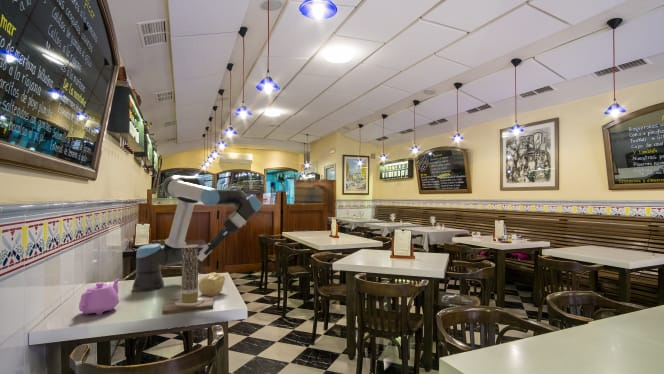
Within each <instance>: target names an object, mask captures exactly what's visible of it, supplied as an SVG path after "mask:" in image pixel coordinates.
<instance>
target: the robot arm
mask: <svg viewBox="0 0 664 374" xmlns="http://www.w3.org/2000/svg"><path fill="white" fill-rule="evenodd" d="M162 191H163V192H164V194H165V195H167V196H168V197H172V198H176V199H177V201H178V202H177V206H176V208H175V213H174V217H173V221H172V224H171V227H170V232H169V236H168V238H166V239H165V240H164V243H163V245H161V243H149V244H145V245H142V246H140V247H138V248H137V250H136V254H135V255H136V256H135V258H136V259H135V260H136V262H135V263H136V273H135V277H134V280H133V284H132V291H133V292H139V293H140V292H142V293H143V292H152V291H157V290H161V289H163V288H164V287H165V282H164V279H163V276H162V272H161V270H162V269H161V268H162V267H167V266H172V265H178V264H182V246H183V245H187V242H186V241H185V240H186V237H187V233H188V229H189V225H190V222H191V218H192V215H193V212H194V207H195V205H196V204H198V203H199V202H200V203H202V204H203V205H205V206H209V207H210V206H211V207H213V206H234V207H236V209H235V210H234V211H233V212H232V213H231V214H230V215H229V216H228V218H226V219H225V220H224V221H223V222H222V225H223V226H224V227H223V228H221V229H220V230H219V232H218V233H217V234H216V235H215V236H214V237H213V238H212V239H211V240H210V241H209V242H208V243H207V244H206V245H205V246H204V247H202V249H201V250H200V251H198V257H197V258H198V261H200V262H203V261H204V260H205V259H206V258H207V257H208V255H209V254H211V253H212V252H213V250H216V248H217V246H219V245H220V244H221V243H222V241H224V240H225V239H226V238H227V237H228V236H229V234H230V232H231V233H232V234H233V235H235V234H236V233H237V232H238V231H239V230H240V228H242V227H243V226H246V224H247V222H248V221H249V220H250V219H251V218H252V217H253V216H255V214H256V213H257V212H258V211H259V210H260V209H261V208H262V206H263V203H262V202H261V201H260V200H259V198H257V197H256V196H255V195H253V194H251V195H250V196H248V195H247V194H246V192H243V190H242V189H240V188H239V187H237V186H235V185H231V186H229V187H227V188H224V189H220V188H213V187H210V186H209V187H208V186H206V183H205V180H204V179H203V178H202V177H199V176H194V175H192V176H191V175H190V176H189V175H178V174H177V175H171V176H168V177H166V178H165V180H164V181H163V182H162Z"/></svg>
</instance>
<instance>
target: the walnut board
mask: <svg viewBox="0 0 664 374" xmlns="http://www.w3.org/2000/svg"><path fill="white" fill-rule="evenodd" d="M214 296H215V295H214ZM214 296H209V295H204V296H198V300H197V301H195V302H192V303H183V302H182V298H176V299H175V298H174V299H167V301H166V302H165V304H164V306H163V308H162V312H161V313H162V315H165V314H174V313H176V314H177V313H184V312H193V311H194V312H195V311H202V310H212V309H214V300H215V299H214Z"/></svg>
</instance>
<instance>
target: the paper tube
mask: <svg viewBox="0 0 664 374" xmlns="http://www.w3.org/2000/svg"><path fill="white" fill-rule="evenodd" d="M198 256H199V244H186V245H183V246H182V263H181V299H182V302H183V303H192V302H195V301H197V300H198V297H199V259H198V258H197V257H198Z"/></svg>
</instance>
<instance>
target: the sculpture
mask: <svg viewBox="0 0 664 374" xmlns="http://www.w3.org/2000/svg"><path fill="white" fill-rule="evenodd" d="M225 280H226V277H225V275H223V274H221V273H218V272H210V273H207V274H205V275H204V276H202V277H201V278H200V281H198V291H199V292H200V294H201V295H202V296H203V295H204V296H217V295H219V294H220V293H221V292H222V291H223V287H224V284H225V282H226V281H225Z"/></svg>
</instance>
